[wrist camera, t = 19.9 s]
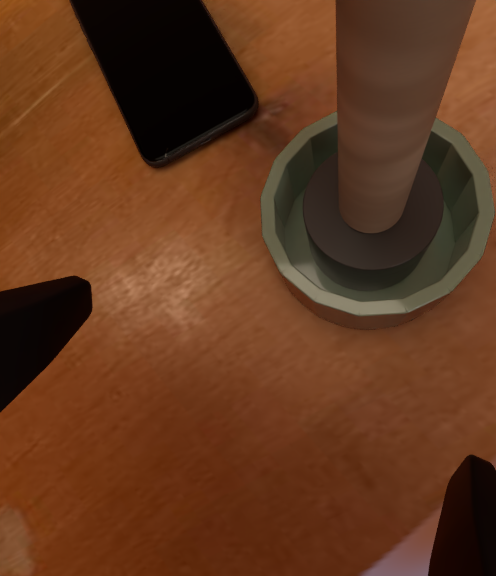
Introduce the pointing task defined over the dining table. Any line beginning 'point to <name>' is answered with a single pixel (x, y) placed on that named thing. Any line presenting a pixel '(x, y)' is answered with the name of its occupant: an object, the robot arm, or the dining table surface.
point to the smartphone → (167, 72)
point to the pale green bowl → (435, 262)
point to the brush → (383, 140)
